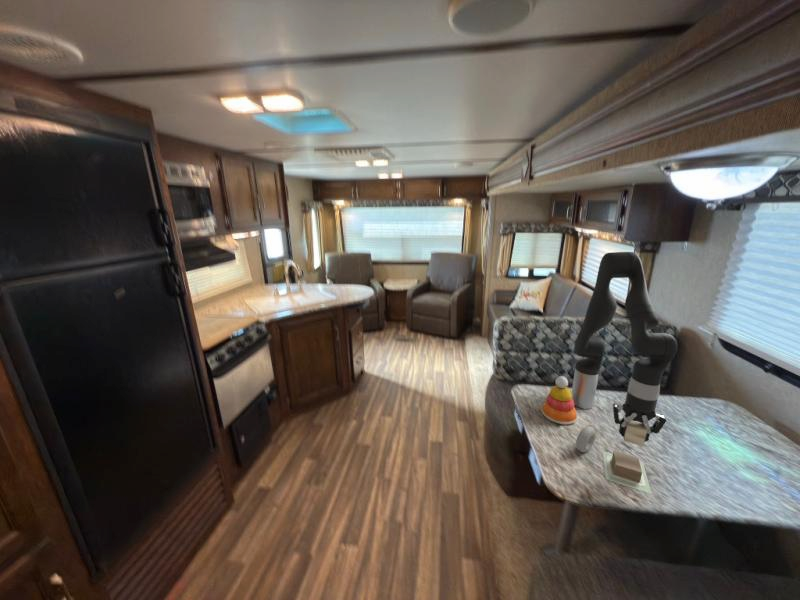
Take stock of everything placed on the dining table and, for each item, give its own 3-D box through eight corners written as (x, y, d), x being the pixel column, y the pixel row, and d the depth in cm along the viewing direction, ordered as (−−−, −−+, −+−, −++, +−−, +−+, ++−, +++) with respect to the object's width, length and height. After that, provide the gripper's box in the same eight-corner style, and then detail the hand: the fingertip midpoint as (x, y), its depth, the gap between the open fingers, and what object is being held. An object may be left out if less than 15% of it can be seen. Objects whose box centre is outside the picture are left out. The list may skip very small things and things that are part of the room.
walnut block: (611, 459, 108) (613, 450, 107) (636, 467, 104) (638, 457, 103) (613, 474, 102) (615, 464, 101) (639, 482, 98) (642, 472, 97)
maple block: (622, 431, 103) (625, 416, 101) (640, 436, 100) (644, 421, 99) (624, 441, 99) (627, 425, 97) (643, 446, 96) (647, 430, 95)
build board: (602, 452, 112) (602, 450, 112) (642, 464, 106) (643, 462, 106) (605, 481, 100) (606, 478, 100) (651, 496, 95) (651, 493, 94)
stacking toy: (569, 407, 138) (575, 369, 133) (583, 428, 125) (590, 386, 119) (536, 405, 140) (541, 367, 135) (546, 425, 127) (552, 384, 121)
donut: (581, 459, 109) (585, 436, 107) (572, 453, 112) (576, 430, 109) (595, 447, 115) (599, 425, 112) (585, 442, 117) (589, 420, 115)
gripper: (669, 392, 95) (657, 437, 99) (613, 381, 101) (605, 424, 106) (675, 405, 88) (663, 453, 93) (616, 392, 95) (607, 437, 100)
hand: (632, 437), depth 99 cm, fingers closed on maple block, 5 cm apart
